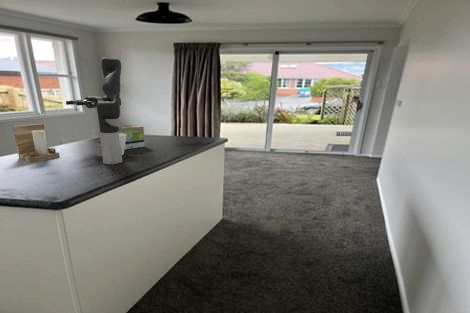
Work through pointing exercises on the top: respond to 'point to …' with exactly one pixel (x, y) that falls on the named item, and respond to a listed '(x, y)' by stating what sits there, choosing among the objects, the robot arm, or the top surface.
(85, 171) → the top surface
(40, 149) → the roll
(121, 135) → the cup
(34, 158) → the holder
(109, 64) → the robot arm
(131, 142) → the tea box
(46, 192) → the top surface
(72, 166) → the top surface
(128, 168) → the top surface
